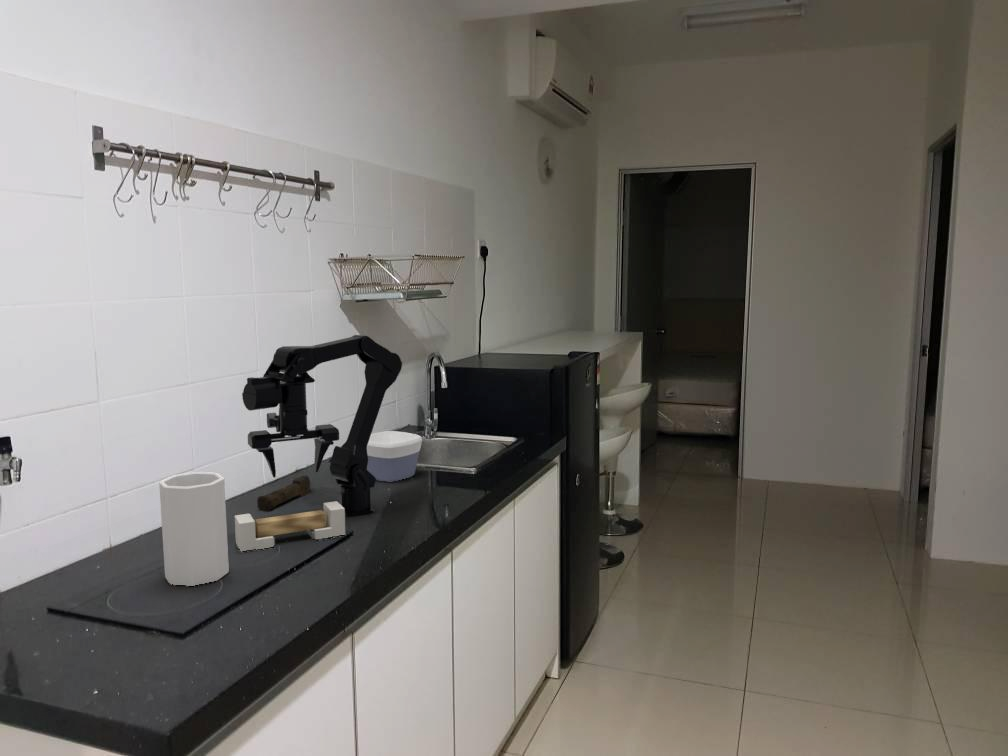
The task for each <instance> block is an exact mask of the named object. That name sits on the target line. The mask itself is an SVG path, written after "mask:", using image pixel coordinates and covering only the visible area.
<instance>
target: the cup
mask: <svg viewBox="0 0 1008 756" xmlns="http://www.w3.org/2000/svg"><path fill="white" fill-rule="evenodd" d="M225 487H226V486H225V478H224V477H223V476H222V475H220V474H219V473H217V472H211V471H210V472H209V471H208V472H206V471H194V472H193V471H192V472H186V473H185V472H184V473H179V474H173V475H170V476H169V477H166V478H165V479H162V480H160V481H159V497H160V498H159V499H160V500H159V501H160V502H159V503H160V515H161V516H160V517H161V531H162V532H161V533H162V548H163V566H164V578H165V579H166V580H167V583H168V584H169V583H170V584H169V585H170V586H176V585H186V586H185V587H189V586H194V587H196V586H195V585H198V586H200V585H199V584H203V585H206V584H205V583H207V584H210V583H209V582H212V583H215V582H214V581H216V582H218V581H219V580H220V579H222V578H223V577H224V576H225V575H227V574H228V573H229V572H230V571H229V570H230V569H229V551H228V549H229V548H228V546H229V545H228V529H227V527H228V526H227V510H226V509H227V506H226V488H225ZM172 584H173V585H172Z"/></svg>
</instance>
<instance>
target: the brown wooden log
mask: <svg viewBox="0 0 1008 756" xmlns="http://www.w3.org/2000/svg"><path fill="white" fill-rule="evenodd" d="M291 481H292V482H291V484H287V485H285V486H284V487H281V488H279V489H277V490H274V491H272V492H270V493H267V494H265V495H259V496H258V497H257V500H256V502H257V505H256V506H257V507H256V508H257V509H258V510H259V511H262V512H269V511H271V510H274V509H275V507H277V506H279V505H281V504H282V503H286V502H288V501H289V500H292V499H294V498H295V497H299V498H300V497H304V496H305V495H307V494H308V493H309V492H310V491H311V481H310V477H309V476H308V475H302V476H299V477H296V478H293V479H292V480H291Z"/></svg>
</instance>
